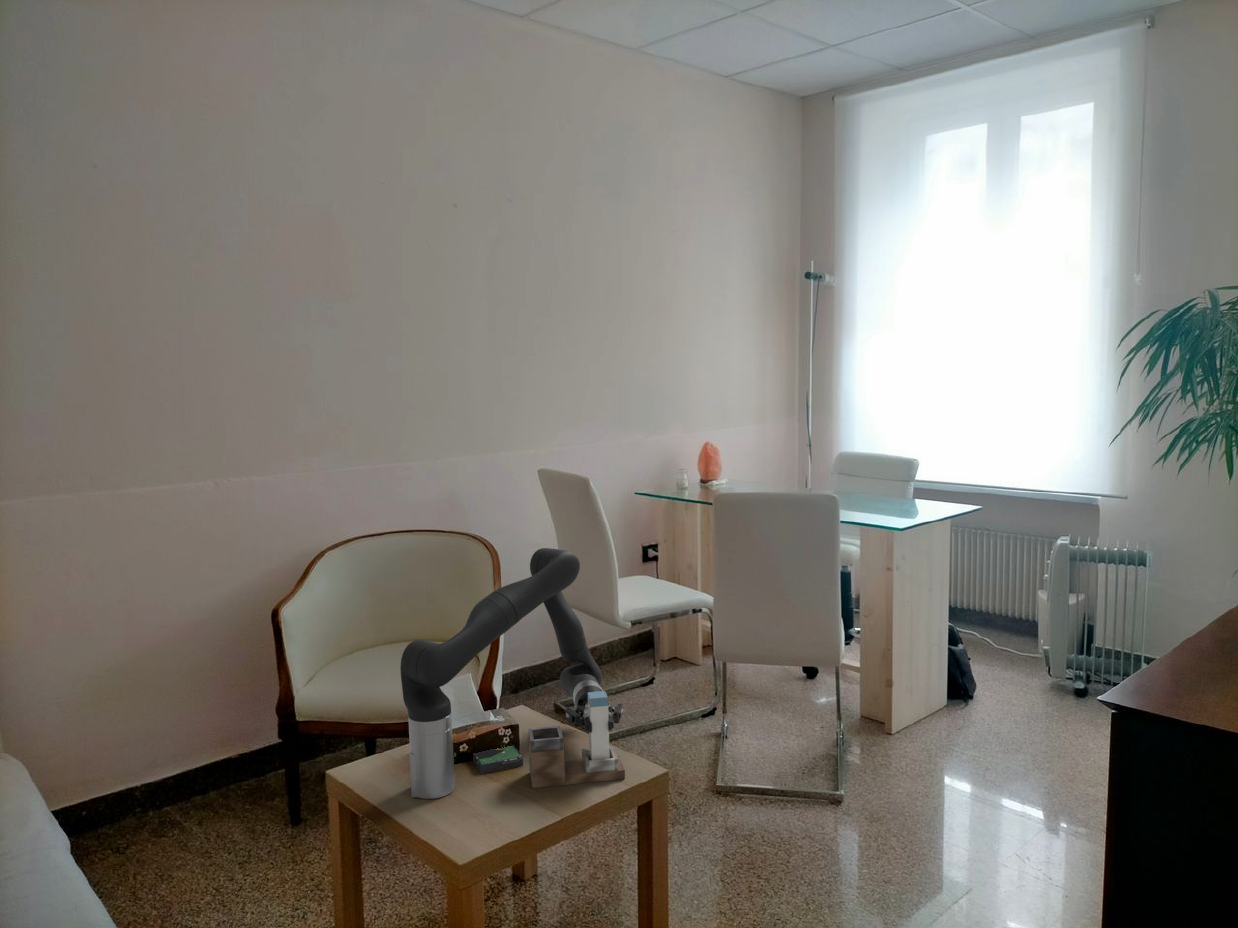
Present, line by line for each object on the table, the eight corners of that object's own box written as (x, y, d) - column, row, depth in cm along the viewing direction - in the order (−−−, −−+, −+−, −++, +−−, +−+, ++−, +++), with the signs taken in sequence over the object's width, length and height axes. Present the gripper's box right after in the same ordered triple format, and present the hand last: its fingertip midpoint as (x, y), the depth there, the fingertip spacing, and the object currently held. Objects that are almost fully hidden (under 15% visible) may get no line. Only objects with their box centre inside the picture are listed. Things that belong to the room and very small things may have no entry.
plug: (592, 763, 209) (590, 698, 207) (589, 755, 213) (587, 692, 211) (609, 761, 210) (607, 697, 208) (606, 754, 213) (605, 690, 212)
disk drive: (464, 752, 226) (481, 776, 213) (464, 741, 226) (480, 764, 213) (505, 744, 230) (524, 767, 217) (505, 733, 230) (524, 755, 217)
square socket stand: (532, 787, 205) (530, 741, 204) (529, 772, 213) (528, 727, 212) (625, 778, 208) (623, 733, 207) (619, 763, 216) (617, 719, 215)
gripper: (559, 687, 223) (568, 713, 206) (618, 682, 225) (631, 708, 208) (560, 717, 223) (569, 746, 207) (619, 712, 226) (632, 740, 209)
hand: (600, 727), depth 207 cm, fingers closed on plug, 3 cm apart
